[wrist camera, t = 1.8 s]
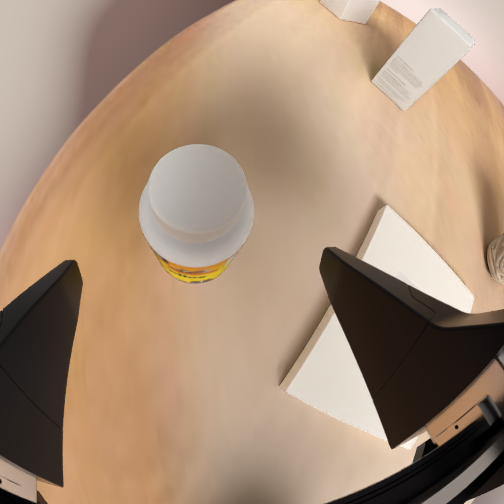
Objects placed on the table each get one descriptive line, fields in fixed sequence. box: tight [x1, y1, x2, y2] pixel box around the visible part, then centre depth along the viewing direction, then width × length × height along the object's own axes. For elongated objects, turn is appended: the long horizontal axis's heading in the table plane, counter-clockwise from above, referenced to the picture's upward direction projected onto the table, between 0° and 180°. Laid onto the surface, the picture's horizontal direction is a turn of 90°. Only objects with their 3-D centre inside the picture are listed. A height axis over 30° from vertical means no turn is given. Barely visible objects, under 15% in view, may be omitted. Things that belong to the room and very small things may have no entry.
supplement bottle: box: [139, 144, 254, 284], centre depth 15 cm, size 6×6×10 cm
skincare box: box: [371, 9, 475, 112], centre depth 23 cm, size 8×7×16 cm
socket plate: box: [279, 205, 474, 450], centre depth 21 cm, size 18×16×2 cm
